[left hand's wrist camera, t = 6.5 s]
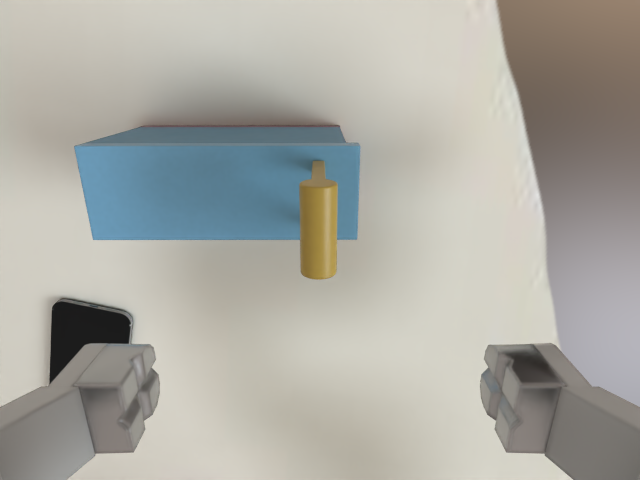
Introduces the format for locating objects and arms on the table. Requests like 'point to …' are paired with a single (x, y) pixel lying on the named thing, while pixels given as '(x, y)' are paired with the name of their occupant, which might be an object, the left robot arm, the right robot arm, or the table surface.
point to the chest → (228, 134)
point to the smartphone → (84, 330)
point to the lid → (225, 194)
